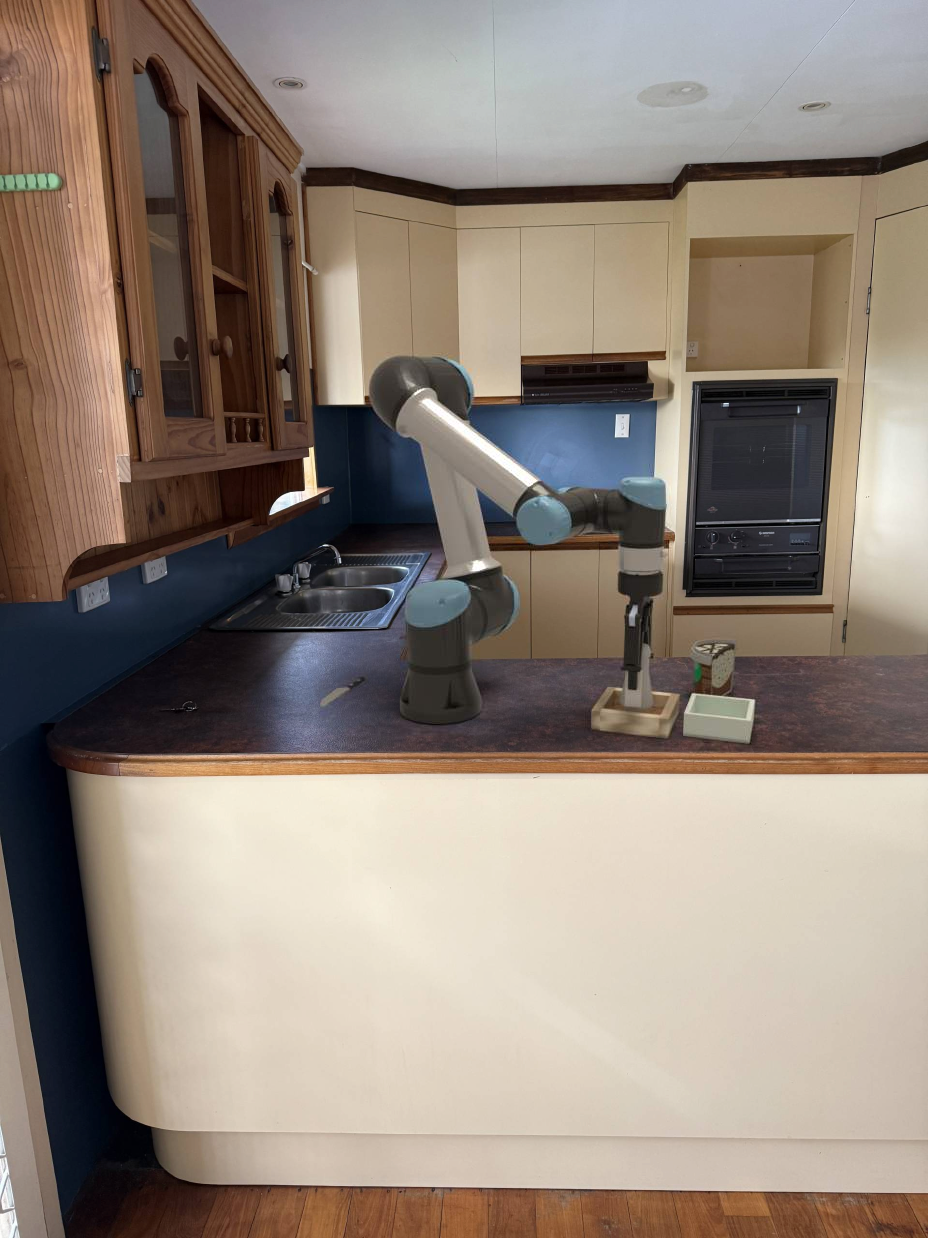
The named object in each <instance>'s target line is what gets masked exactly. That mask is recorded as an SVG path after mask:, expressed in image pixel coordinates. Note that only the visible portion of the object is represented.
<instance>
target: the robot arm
mask: <svg viewBox="0 0 928 1238" xmlns="http://www.w3.org/2000/svg"><path fill="white" fill-rule="evenodd" d="M474 388H475V387H474V383H473V381H472V379H471V376H470V374H469V373H468V372H467V370H466V369H465V368H464V367H463V366H462V365H461V364H459V363H458V362H457V361H455V360H452V359H449V358H445V357H441V356H431V357H430V356H414V355H413V356H412V355H411V356H410V355H396V356H391V357H389V358H386V359H385V360H384V361H382V362H380V363H379V365H378V366H377V367H376V368H375V369H374V370H373V373H372V374H371V377H370V380H369V384H368V396H369V400H370V404H371V406H372V408H373V410H374V412H375V413H376V415H377V416H378V417H379V418H380V419H381V420H382V421H383V423H385V424H386V425H387V426H388V427H389V428H391V429H392V430H393V431H394V432H396V434H398V435H399V436H400V437H402V438H411V439H413V440H414V441H416V443H418V444H419V446H420V449H421V453H422V458H423V462H424V466H425V467H424V468H425V470H426V471H425V472H426V476H427V480H428V485H429V489H430V494H431V497H432V503H433V506H434V512H435V515H436V520H437V525H438V529H439V532H440V537H441V542H442V545H443V546H442V547H443V550H444V555H445V559H446V564H447V567H446V570H445V571H444V573H443V575H442V577H441V578H442V579H438V580H435V581H427V582H423V583H421V584H419V585H416V586H414V587H413V588H411V589H410V590H409V592H408V593H407V594H406V597H405V608H404V609H405V610H404V619H405V635H406V653H407V673H406V677H405V681H404V684H403V687H402V691H401V693H400V694H401V695H400V697H399V711H400V715H401V716H403V717H404V718H405V719H408V720H409V721H412V722H417V723H421V724H428V725H429V724H430V725H432V724H433V725H444V724H452V723H453V724H454V723H461V722H464V721H467V720H470V719H473V718H474V717H476V716H477V715H479V714H480V713H481V712H482V709H483V708H482V695H481V693H480V690H479V689H480V688H479V687H478V684H477V682H476V681H477V680H476V679H475V676H474V673H473V670H472V669H473V668H472V645H475V644H476V643H479V642H482V641H483V640H485V639H488V638H491V637H496V636H499V635H500V634H501V633H503V632H504V631H505V630H507V629H509V628H510V627H511V625H512V624H514V622H515V620H516V619H517V616H518V614H519V612H520V607H521V606H520V605H521V604H520V603H521V601H520V599H521V598H520V594H519V591H518V588H517V586H516V584H515V583H514V581H513V580H510V578H509V577H508V576H507V575H505V574H504V572H503V571H504V570H503V567H502V564H501V562H499V561H498V560H496V559H495V558H494V557H493V556H492V555H491V554H492V553H491V549H490V545H489V541H488V536H487V531H486V527H485V523H484V518H483V514H482V509H481V505H480V500H479V495H478V491H480V492H481V493H482V494H483V495H484V496H486V497H487V498H488V499H489V500H491V501H492V502H494V503H495V504H496V505H497V506H498V507H500V508H501V509H502V510H503V511H505V512H506V513H507V514H508V515H510V516H511V517H512V518H514V519H515V520H516V526H517V527H516V528H517V529H518V531H519V533H520V536H521V538H523V540H524V541H526V542H527V543H529V544H532V545H535V546H544V545H555V544H557V543H559V542H562V541H564V540H567V539H570V538H575V537H577V536H580V535H584V534H587V533H597V534H598V533H602V534H603V533H604V534H611V535H612V534H615V535H616V534H617V535H618V547H617V550H618V551H617V552H618V553H617V568H618V569H619V571H618V572H617V591H618V593H619V594H621V595H623V596H628V597H629V602H628V604H626V606H625V613H624V616H623V618H624V641H623V642H624V643H623V662H622V663H623V664H622V666H621V667H620V671H623V672H624V671H625V676H624V677H625V678H624V680H625V706H629V707H638V708H640V707H641V696H642V670H641V660H642V649H643V643H644V644H647V645H648V646H649V647H650V649H651V651H652V637H653V636H652V633H653V631H652V630H653V628H652V627H653V610H654V598H653V597H656V596H659V595H661V594H662V593H663V590H664V589H663V588H664V587H663V586H664V573H663V572H662V569H664V558H668V552H667V551H664V549H665V533H666V531H665V530H666V515H667V514H666V513H667V509H668V508H667V506H668V504H667V489H666V482H665V481H664V480H663V478H660V477H653V476H632V477H631V476H630V477H624V478H623V479H621V480H620V483H619V484H620V485H619V487H618V488H598V487H597V488H595V487H594V488H593V487H582V486H572V487H565V486H564V487H561V488H559V489H558V490H557V491H556V490H555V489H553V488H552V487H551V486H549V485H548V484H547V483H545V482H544V481H542V479H540V478H539V477H538V476H536V475H535V474H534V473H533V472H532V471H530V470H528V469H527V468H526V467H525V466H523V465H522V464H521V463H519V462H518V461H517V460H515V459H514V458H513V457H512V456H510V455H509V454H508V453H506V452H505V451H504V450H503V449H501V448H500V447H498V446H497V445H496V444H494V443H493V442H492V441H491V440H489V439H488V438H487V437H485V436H484V435H483V434H481V433H480V432H479V431H477V430H476V429H475V428H474V427H472V426H471V425H470V424H471V423H470V417H469V414H468V413H469V411H470V410H471V408H472V403H474V398H475V389H474ZM477 490H478V491H477ZM654 656H655V655H654V653H653V652H651V656H650V658H648V659H647V662H648V669H649V670H650V659H654Z"/></svg>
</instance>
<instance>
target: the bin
mask: <svg viewBox="0 0 928 1238" xmlns="http://www.w3.org/2000/svg"><path fill="white" fill-rule="evenodd" d="M755 704H756V700H755V699H751V698H742V697H731V696H714V695H705V694H695V692H692V693H691V695H690V697H689V700H688V703H687V705H686V708H685V710H684V712H683V730H682V736H683V737H690V738H698V739H705V740H715V741H722V742H730V743H739V744H749V745H750V743H751V736H752V732H753V726H754V717H755V706H756V705H755Z"/></svg>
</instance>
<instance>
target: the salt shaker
mask: <svg viewBox="0 0 928 1238" xmlns="http://www.w3.org/2000/svg"><path fill="white" fill-rule="evenodd" d="M651 653H652V650H651V649H650V647H649V646H648V645H647V644H644V643H643V649H642V660H641V670H642V696H641V707H640V708H638V707H629V706H625V679H624V681H623V684H622V685H623V686H622V688H623V689H622V693H621V697H620V705H621V708H622V710H623V711H629V712H638V713H647V714H649V713H650V711H651V709H652V707H653V704H654V702H653V695H652V691H653V690H652V689H653V688H652V683H651V676H650V668H649V669H648V662H647V659H651V658H650V656H651Z"/></svg>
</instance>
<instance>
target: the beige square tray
mask: <svg viewBox="0 0 928 1238" xmlns="http://www.w3.org/2000/svg"><path fill="white" fill-rule="evenodd" d="M622 689H623V687H622V688H621V687H614V686H607V688H606V689H605V690H604V692H603V693H602V695H601V696H600V697H599V699H598V700H597V702H596V703H595V705H594V706H593V707H592V709H591V712H590V713H591V716H590V720H591V721H590V729H591V730H594V731H600V732H601V731H602V732H608V733H617V734H623V735H624V734H625V735H633V736H641V737H650V738H659V739H666V740H668V739H669V736H670V734H671V732H672V730H673V727H674V726H675V722H676V720H677V718H678V715H679V713H680V700H681V699H680V696H681V695H680V693H672V692H664V691H663V692H661V691H653V690H652V695H653V702H654V704H653V708H662V709H663V712H662V714H661V715H655V714H647V713H638V712H629V711H620V710H612V708H613V706H614V705H615V703H617V704H620V697H621V693H622Z"/></svg>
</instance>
